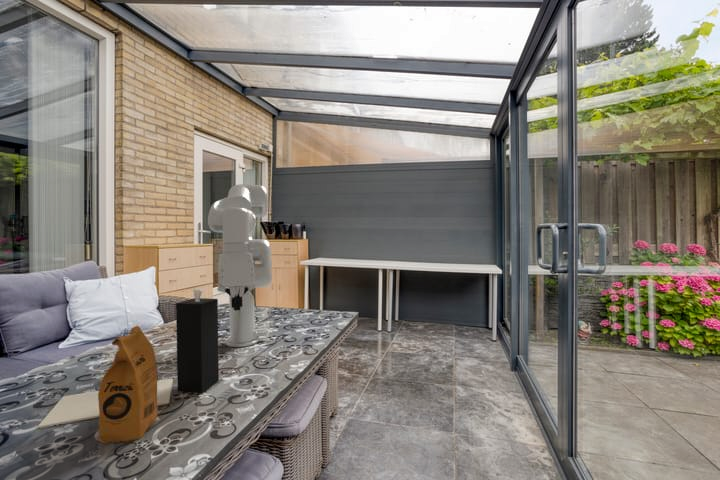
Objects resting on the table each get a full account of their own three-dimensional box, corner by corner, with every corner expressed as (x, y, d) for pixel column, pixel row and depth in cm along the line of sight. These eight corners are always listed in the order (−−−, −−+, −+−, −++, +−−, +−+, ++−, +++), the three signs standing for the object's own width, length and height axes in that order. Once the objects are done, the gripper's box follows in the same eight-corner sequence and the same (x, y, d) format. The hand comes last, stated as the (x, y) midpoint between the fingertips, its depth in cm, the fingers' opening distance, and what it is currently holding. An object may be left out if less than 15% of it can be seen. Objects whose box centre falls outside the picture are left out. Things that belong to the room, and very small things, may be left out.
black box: (201, 393, 94) (200, 292, 93) (177, 391, 95) (175, 291, 95) (219, 381, 101) (217, 287, 101) (195, 379, 103) (194, 287, 102)
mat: (173, 379, 103) (173, 378, 103) (168, 403, 88) (168, 401, 88) (63, 398, 91) (63, 396, 91) (37, 428, 77) (37, 426, 77)
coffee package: (88, 448, 70) (86, 342, 70) (120, 416, 82) (118, 325, 82) (141, 442, 72) (140, 339, 71) (164, 412, 84) (163, 323, 84)
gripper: (259, 248, 109) (260, 305, 109) (208, 249, 102) (209, 309, 103) (263, 248, 102) (264, 309, 102) (209, 250, 96) (210, 315, 96)
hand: (236, 309), depth 102 cm, fingers closed
